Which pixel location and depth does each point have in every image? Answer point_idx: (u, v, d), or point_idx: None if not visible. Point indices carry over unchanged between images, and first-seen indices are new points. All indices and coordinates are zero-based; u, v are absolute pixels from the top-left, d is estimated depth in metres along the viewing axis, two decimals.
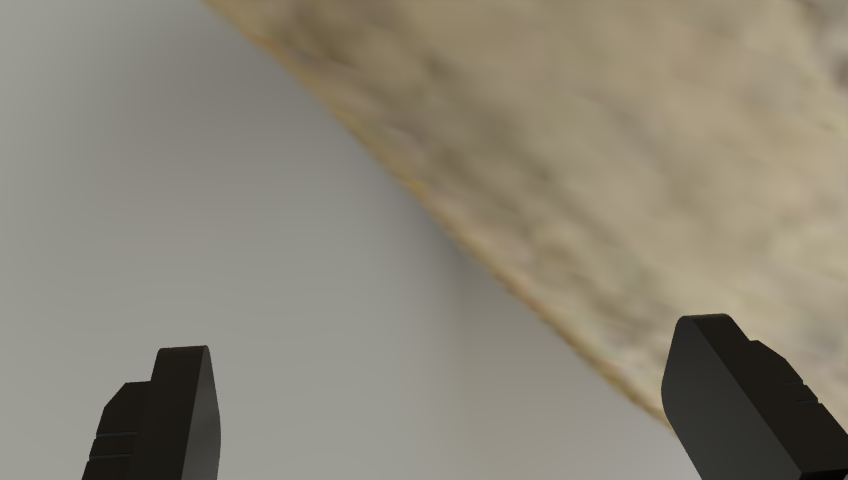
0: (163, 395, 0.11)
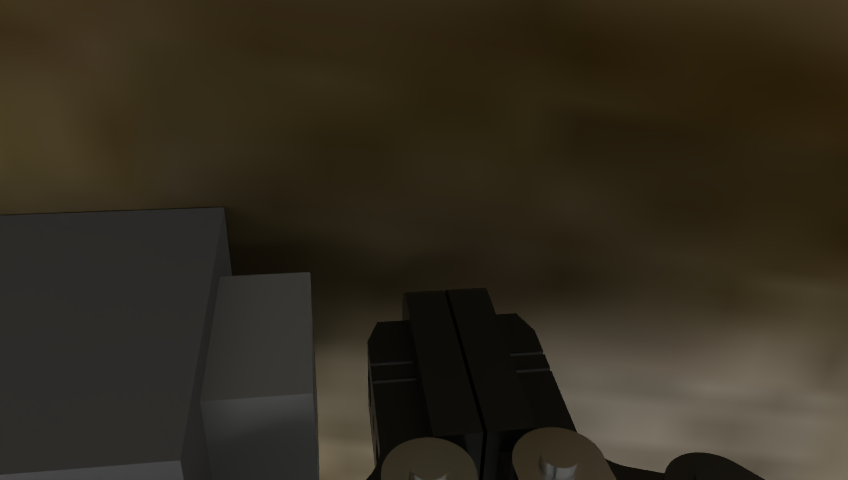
0: (426, 329, 0.12)
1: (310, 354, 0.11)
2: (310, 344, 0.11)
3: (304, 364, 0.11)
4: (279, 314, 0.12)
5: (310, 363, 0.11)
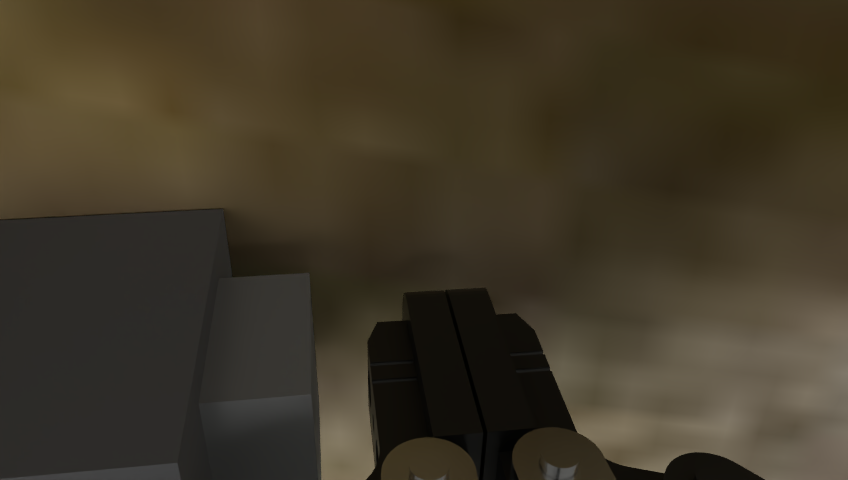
0: (426, 329, 0.12)
1: (308, 355, 0.11)
2: (309, 345, 0.11)
3: (302, 364, 0.11)
4: (278, 315, 0.12)
5: (308, 364, 0.11)
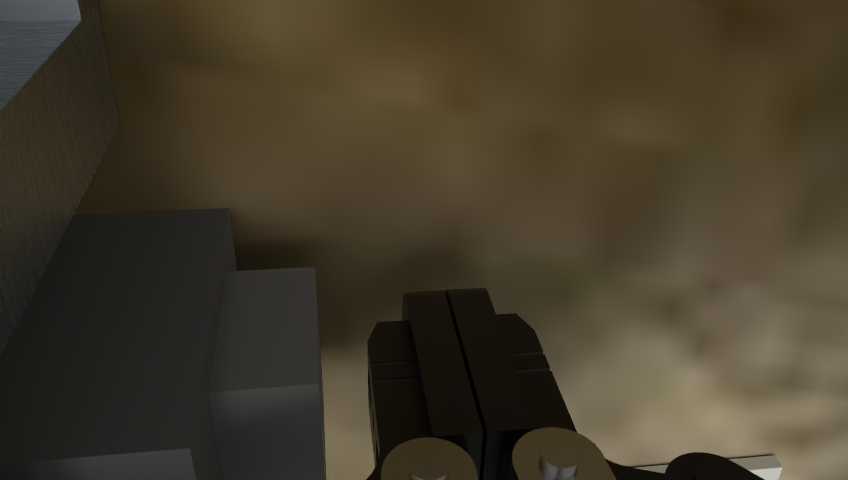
0: (426, 329, 0.12)
1: (315, 346, 0.11)
2: (315, 336, 0.12)
3: (309, 355, 0.11)
4: (285, 308, 0.12)
5: (315, 355, 0.11)
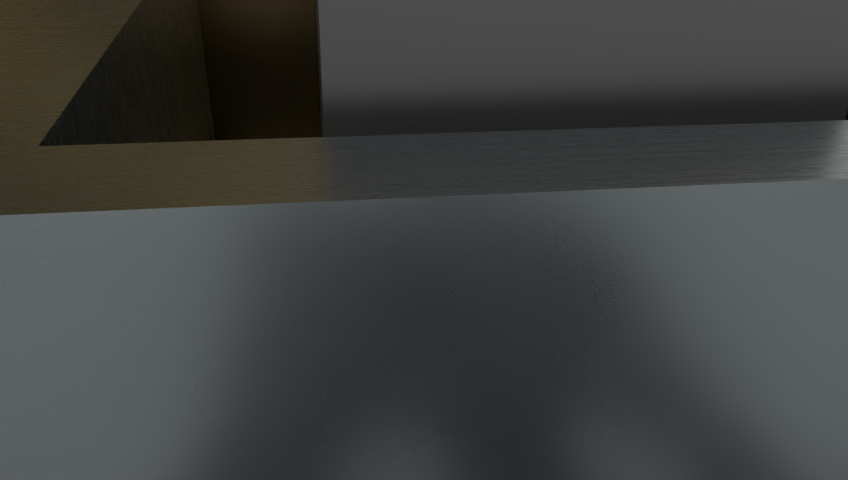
0: None
1: None
2: None
3: None
4: None
5: None
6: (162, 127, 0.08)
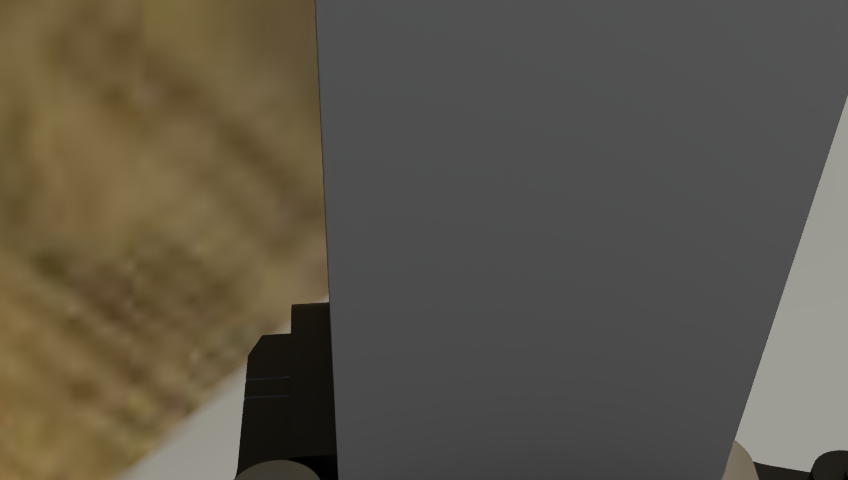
0: (305, 343, 0.12)
1: None
2: None
3: None
4: None
5: None
6: None
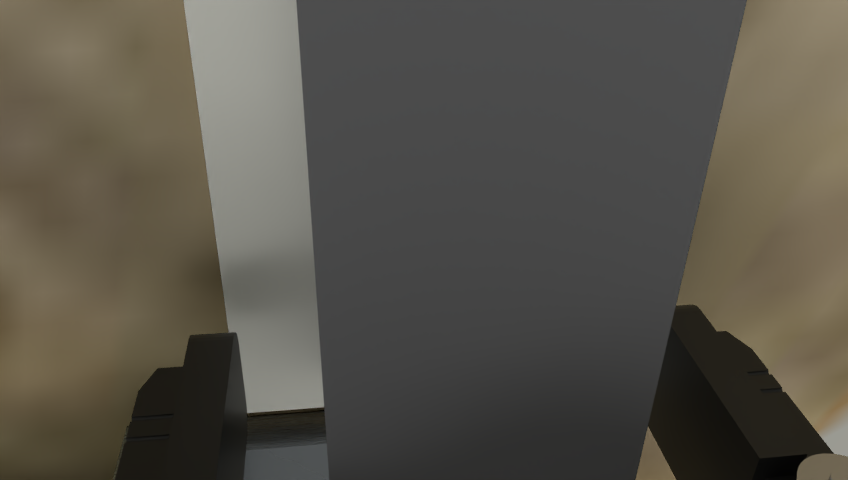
0: (196, 379, 0.11)
1: None
2: None
3: None
4: None
5: None
6: None
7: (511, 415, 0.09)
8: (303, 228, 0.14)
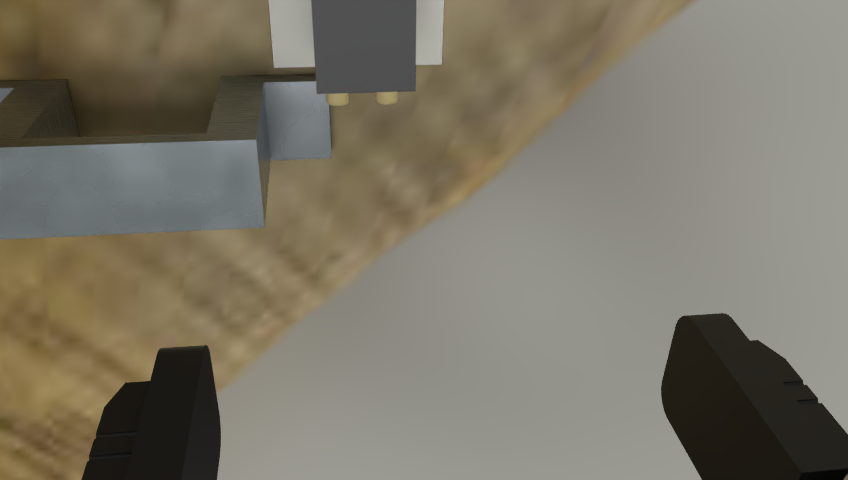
0: (163, 395, 0.11)
1: None
2: None
3: None
4: None
5: None
6: (51, 135, 0.33)
7: None
8: None
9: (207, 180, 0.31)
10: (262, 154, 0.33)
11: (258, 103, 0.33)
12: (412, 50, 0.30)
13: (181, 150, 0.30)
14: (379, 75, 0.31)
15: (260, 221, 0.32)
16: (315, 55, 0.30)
